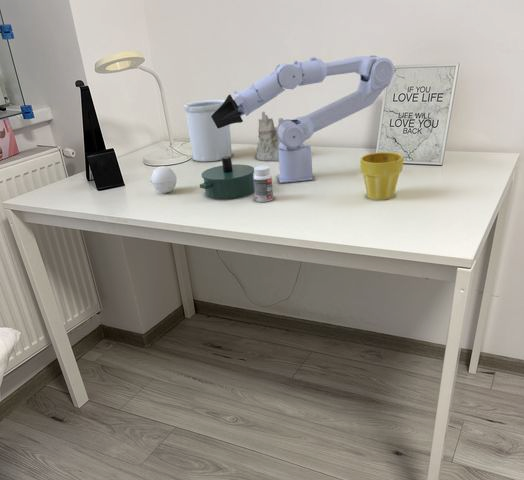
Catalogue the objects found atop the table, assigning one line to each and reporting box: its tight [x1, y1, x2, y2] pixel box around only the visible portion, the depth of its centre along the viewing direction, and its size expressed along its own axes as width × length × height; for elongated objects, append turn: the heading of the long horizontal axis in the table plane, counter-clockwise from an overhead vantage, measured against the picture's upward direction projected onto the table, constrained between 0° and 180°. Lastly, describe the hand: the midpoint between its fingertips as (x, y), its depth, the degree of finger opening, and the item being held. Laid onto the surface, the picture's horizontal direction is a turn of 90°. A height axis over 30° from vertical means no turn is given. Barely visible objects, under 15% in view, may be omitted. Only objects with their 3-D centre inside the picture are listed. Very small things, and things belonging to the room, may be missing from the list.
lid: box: [201, 156, 255, 181], centre depth 149 cm, size 15×15×5 cm
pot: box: [199, 173, 255, 201], centre depth 151 cm, size 14×19×5 cm
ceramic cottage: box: [255, 111, 284, 162], centre depth 180 cm, size 16×16×15 cm
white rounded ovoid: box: [150, 165, 178, 194], centre depth 154 cm, size 10×7×7 cm
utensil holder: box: [183, 99, 233, 162], centre depth 185 cm, size 15×15×18 cm
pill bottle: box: [253, 165, 274, 203], centre depth 142 cm, size 5×5×8 cm
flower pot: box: [359, 151, 404, 201], centre depth 136 cm, size 10×10×10 cm
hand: (214, 122), depth 147 cm, fingers open, 7 cm apart
